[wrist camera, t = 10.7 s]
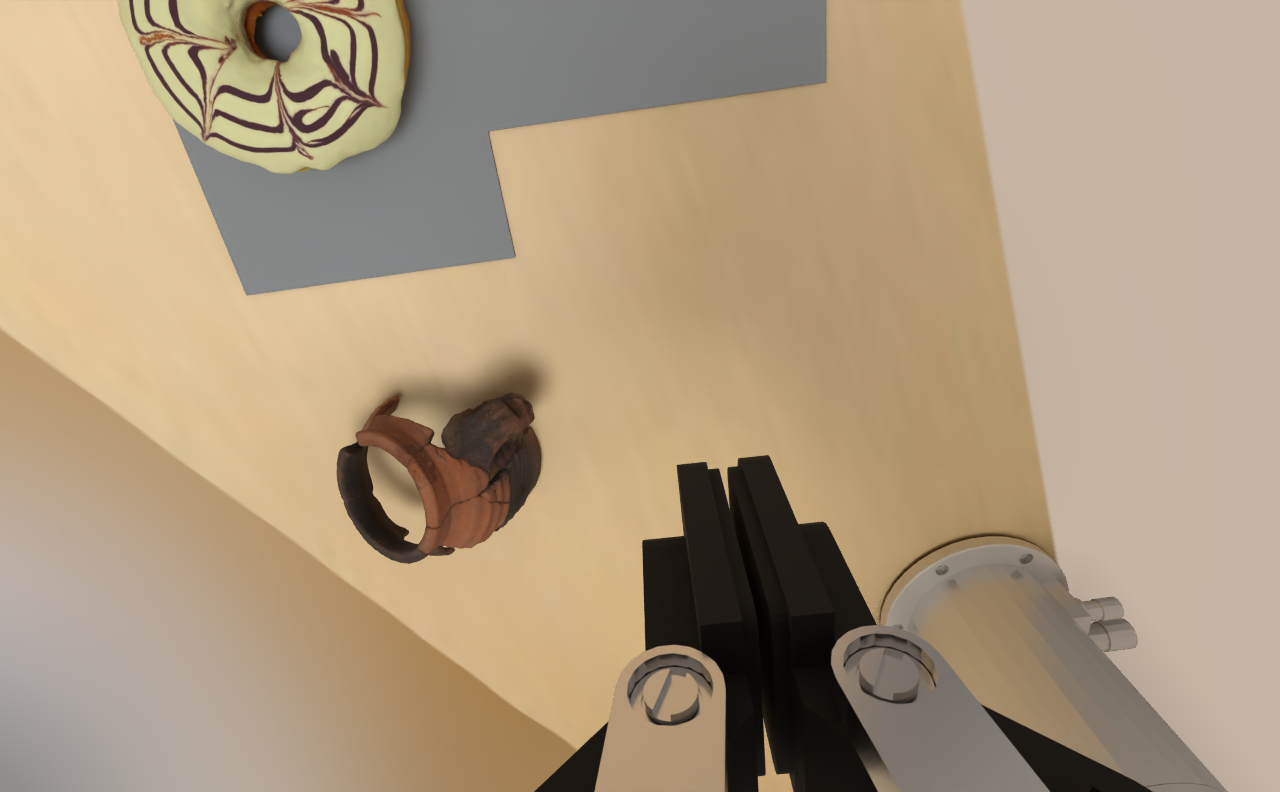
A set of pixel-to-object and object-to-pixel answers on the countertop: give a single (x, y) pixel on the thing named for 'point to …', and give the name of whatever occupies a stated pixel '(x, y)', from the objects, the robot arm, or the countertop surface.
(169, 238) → the countertop surface
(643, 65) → the t mat
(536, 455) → the pottery mug
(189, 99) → the decorated donut
